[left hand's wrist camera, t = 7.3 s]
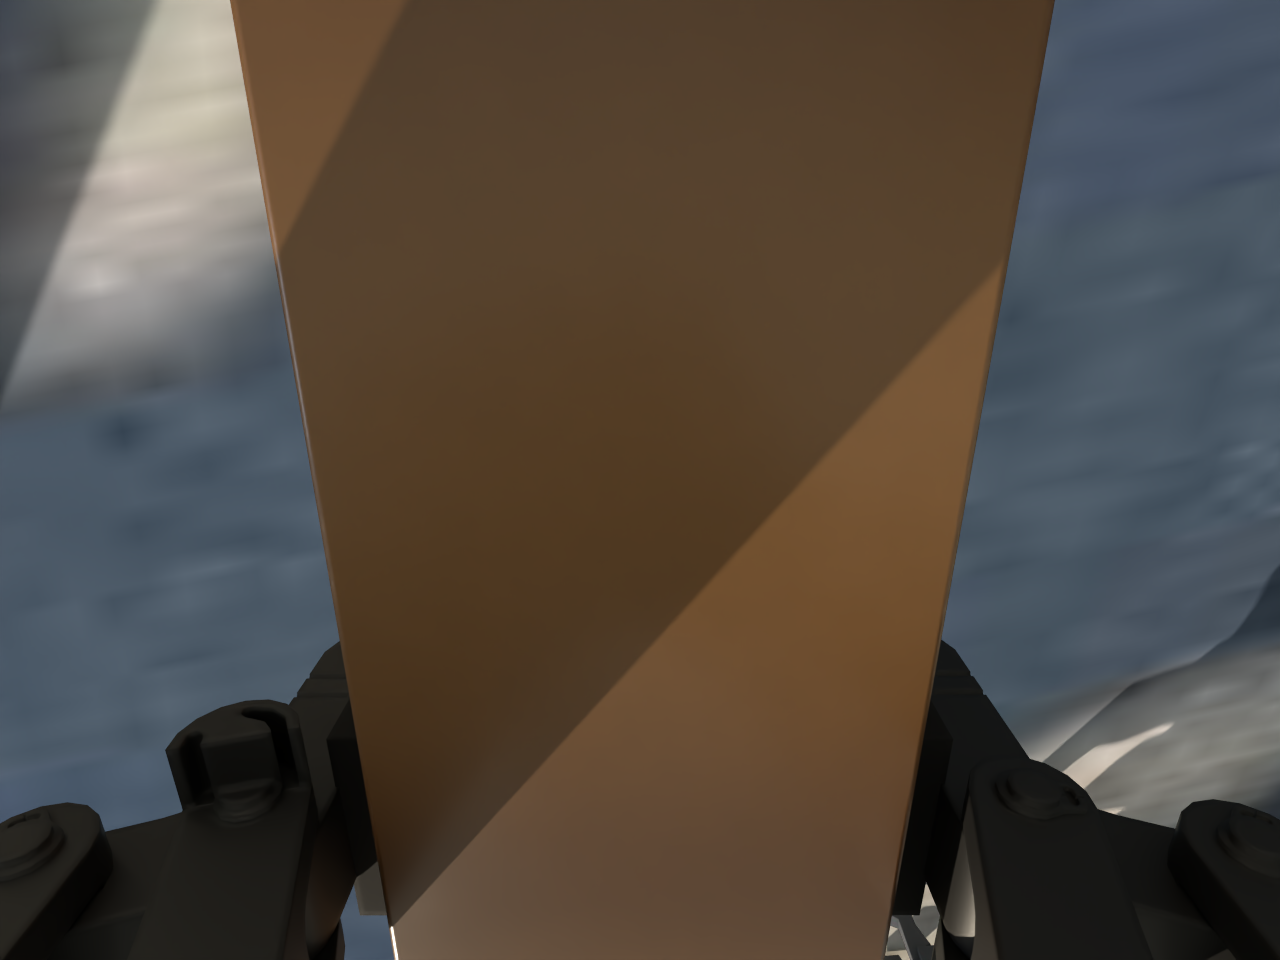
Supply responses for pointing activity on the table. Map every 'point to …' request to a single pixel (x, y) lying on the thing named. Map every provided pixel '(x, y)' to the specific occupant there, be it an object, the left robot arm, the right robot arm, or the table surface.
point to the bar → (641, 439)
